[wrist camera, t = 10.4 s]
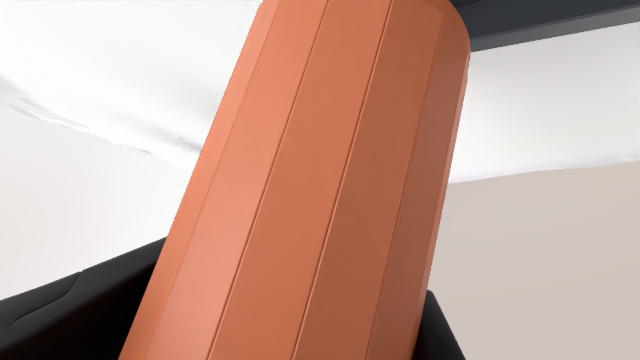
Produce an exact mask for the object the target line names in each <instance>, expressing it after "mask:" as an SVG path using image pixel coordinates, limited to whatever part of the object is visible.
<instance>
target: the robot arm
mask: <svg viewBox="0 0 640 360" xmlns="http://www.w3.org/2000/svg"><path fill="white" fill-rule="evenodd" d="M166 239H167V237H165V238H162V239H160V240H157V241H155V242H152V243H150V244H147V245H145V246H142V247H140V248H137V249H135V250H132V251H130V252H127V253H125V254H122V255H120V256H117V257H115V258H112V259H110V260H107V261H105V262H102V263H100V264H97V265H95V266H92V267H90V268H87V269H85V270H83V271H82V272H77V273H74V274H72V275H70V276H67V277H64V278H62V279H59V280H56V281H54V282H52V283H49V284H46V285H43V286H41V287H38V288H35V289H32V290H29V291H26V292H24V293H21V294H18V295H15V296H12V297H9V298H7V299H3V300H0V360H118V359H119V356H120V354H121V351H122V349H123V346H124V344H125V341H126V339H127V336H128V334H129V331H130V329H131V326H132V324H133V321H134V319H135V316H136V314H137V311H138V309H139V306H140V304H141V301H142V299H143V296H144V294H145V291H146V289H147V286H148V284H149V281H150V279H151V276H152V274H153V271H154V269H155V266H156V264H157V261H158V259H159V256H160V254H161V251H162V249H163V246H164V244H165V241H166ZM413 360H466V359H465V357H464V355H463V353H462V351H461V349H460V347H459V345H458V343H457V341H456V339H455V337H454V335H453V333H452V331H451V329H450V327H449V325H448V323H447V320H446V318H445V316H444V314H443V312H442V310H441V308H440V306H439V304H438V302H437V300H436V298H435V296H434V294H433V293H432V291H430V290H427V291H426V296H425V302H424V307H423V312H422V317H421V322H420V327H419V331H418V337H417V343H416V348H415V353H414V358H413Z"/></svg>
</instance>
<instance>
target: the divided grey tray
mask: <svg viewBox="0 0 640 360" xmlns="http://www.w3.org/2000/svg"><path fill="white" fill-rule="evenodd" d="M449 1H450V2H451V4H452V5H453V6H454V8H455V9H456V10H457V12H458V13H459V14H460V16H461V18H462V20H463V22H464V24H465V26H466V28H467V32H468V35H469V39H470V49H471V52H476V51H481V50H486V49H492V48H497V47H503V46H508V45H514V44H519V43H524V42H530V41H535V40H541V39H546V38H552V37H557V36H562V35H568V34H573V33H579V32H584V31H589V30H595V29H600V28H606V27H611V26H617V25H622V24H627V23H633V22H638V21H640V0H449Z"/></svg>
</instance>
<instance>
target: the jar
mask: <svg viewBox="0 0 640 360" xmlns="http://www.w3.org/2000/svg"><path fill="white" fill-rule="evenodd" d="M470 53H471V49H470V39H469V35H468V32H467V28H466V26H465V24H464V22H463V20H462V18H461V16H460V14H459V13H458V12H457V10H456V9H455V8H454V6H453V5H452V4H451V2H450V1H449V0H263V3H261V4H260V6H259V8H258V11H257V13H256V16H255V18H254V21H253V23H252V26H251V28H250V31H249V33H248V36H247V38H246V41H245V43H244V46H243V48H242V51H241V53H240V56H239V58H238V61H237V63H236V66H235V68H234V71H233V73H232V76H231V78H230V81H229V83H228V86H227V88H226V91H225V93H224V96H223V98H222V101H221V103H220V106H219V108H218V111H217V113H216V116H215V118H214V121H213V123H212V126H211V128H210V131H209V133H208V136H207V138H206V141H205V143H204V146H203V148H202V151H201V153H200V156H199V158H198V161H197V163H196V166H195V168H194V171H193V173H192V176H191V178H190V181H189V183H188V186H187V188H186V191H185V193H184V196H183V198H182V201H181V203H180V206H179V209H178V211H177V214H176V216H175V219H174V221H173V224H172V226H171V229H170V231H169V234H168V236H167V239H166V241H165V244H164V246H163V249H162V251H161V254H160V256H159V259H158V261H157V264H156V266H155V269H154V271H153V274H152V276H151V279H150V281H149V284H148V286H147V289H146V291H145V294H144V296H143V299H142V301H141V304H140V306H139V309H138V311H137V314H136V316H135V319H134V321H133V324H132V326H131V329H130V331H129V334H128V336H127V339H126V341H125V344H124V346H123V349H122V351H121V354H120V356H119V359H118V360H413V358H414V353H415V348H416V343H417V337H418V331H419V327H420V322H421V317H422V312H423V307H424V302H425V296H426V291H427V286H428V281H429V276H430V271H431V265H432V260H433V255H434V250H435V245H436V240H437V234H438V229H439V224H440V219H441V214H442V209H443V204H444V198H445V193H446V188H447V183H448V178H449V173H450V167H451V162H452V157H453V152H454V147H455V142H456V137H457V131H458V126H459V121H460V116H461V111H462V106H463V100H464V95H465V90H466V85H467V74H468V66H469V60H470Z"/></svg>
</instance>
